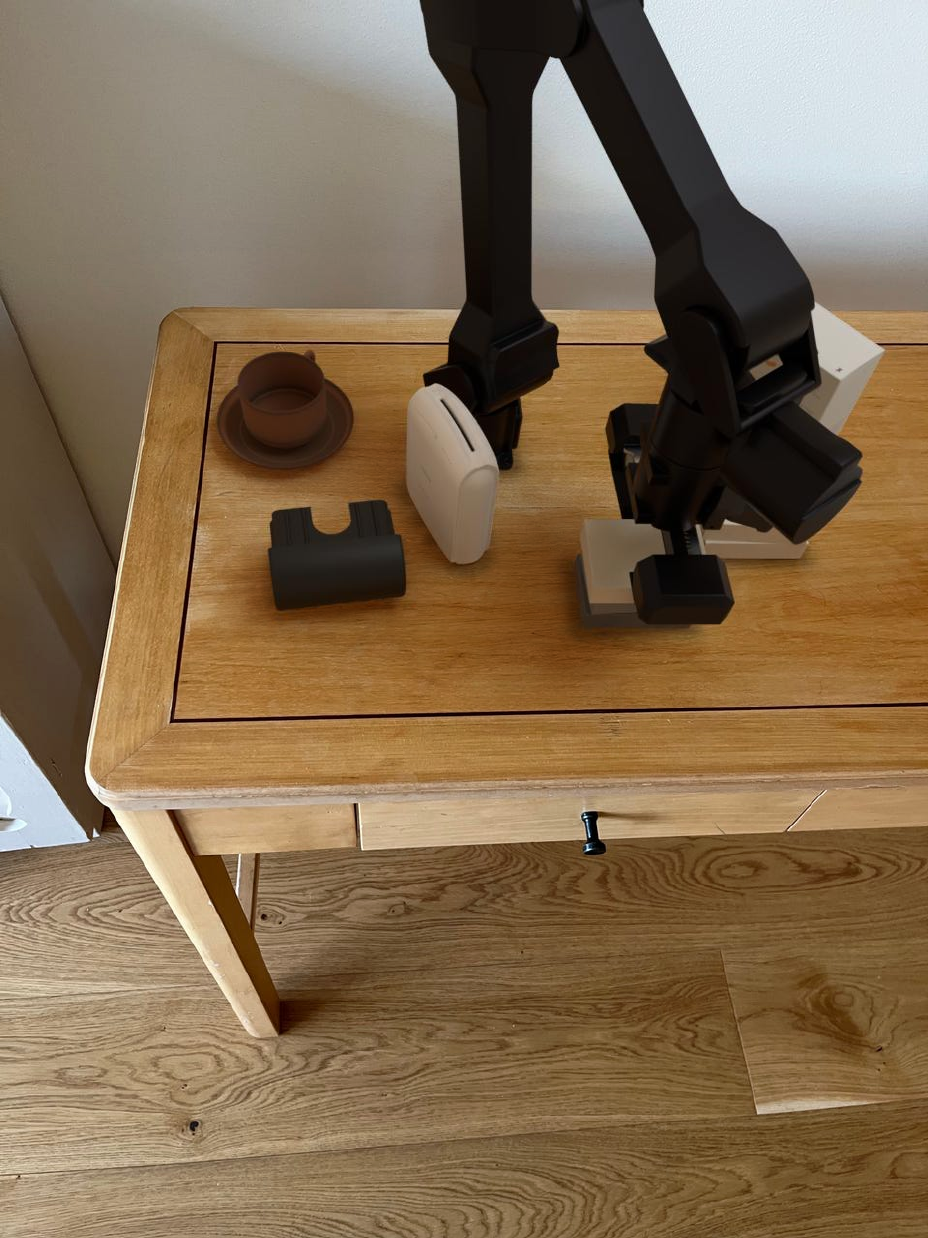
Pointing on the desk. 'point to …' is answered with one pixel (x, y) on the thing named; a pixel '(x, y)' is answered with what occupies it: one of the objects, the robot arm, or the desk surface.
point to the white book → (617, 555)
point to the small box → (834, 369)
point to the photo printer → (450, 473)
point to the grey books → (606, 607)
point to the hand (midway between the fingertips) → (638, 575)
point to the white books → (749, 543)
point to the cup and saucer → (284, 413)
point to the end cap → (335, 558)
